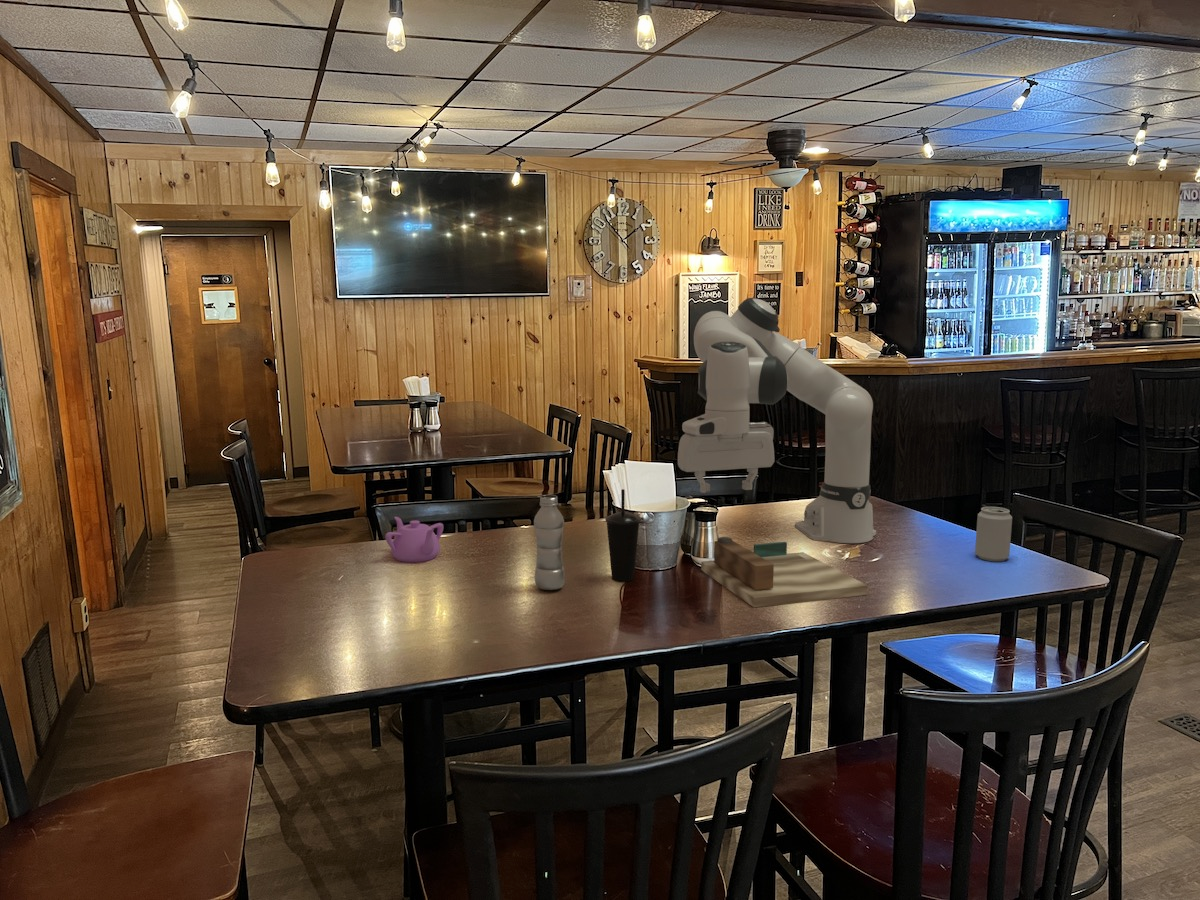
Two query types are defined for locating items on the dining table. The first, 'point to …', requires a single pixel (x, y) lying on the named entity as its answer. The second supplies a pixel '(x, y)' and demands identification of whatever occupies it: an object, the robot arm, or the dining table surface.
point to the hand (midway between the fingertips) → (726, 490)
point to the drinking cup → (622, 542)
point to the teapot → (414, 541)
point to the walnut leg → (743, 564)
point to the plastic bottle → (549, 544)
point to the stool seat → (789, 579)
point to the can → (993, 534)
